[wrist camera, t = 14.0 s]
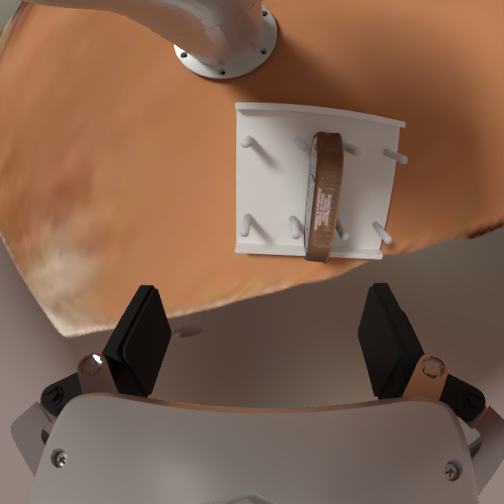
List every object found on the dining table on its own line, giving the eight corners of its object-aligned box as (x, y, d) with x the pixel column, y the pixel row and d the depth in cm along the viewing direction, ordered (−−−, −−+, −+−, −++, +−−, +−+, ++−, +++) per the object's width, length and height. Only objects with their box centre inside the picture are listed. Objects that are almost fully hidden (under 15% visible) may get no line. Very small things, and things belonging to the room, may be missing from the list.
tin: (320, 243, 36) (332, 277, 29) (297, 242, 36) (304, 276, 29) (333, 130, 29) (353, 136, 22) (307, 127, 29) (320, 132, 22)
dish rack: (238, 103, 29) (231, 100, 24) (396, 120, 28) (419, 124, 23) (237, 243, 38) (231, 266, 33) (375, 250, 38) (390, 272, 32)
